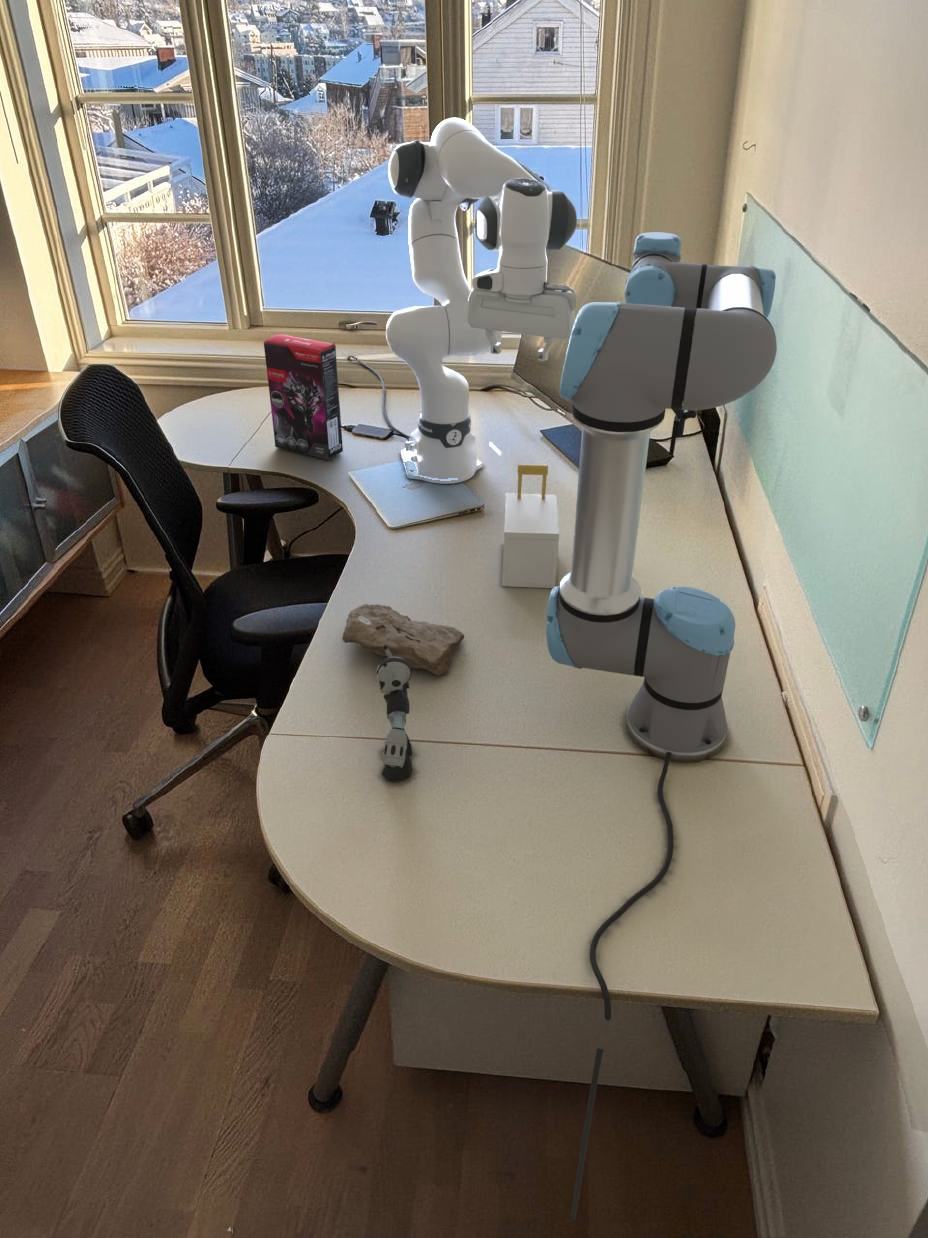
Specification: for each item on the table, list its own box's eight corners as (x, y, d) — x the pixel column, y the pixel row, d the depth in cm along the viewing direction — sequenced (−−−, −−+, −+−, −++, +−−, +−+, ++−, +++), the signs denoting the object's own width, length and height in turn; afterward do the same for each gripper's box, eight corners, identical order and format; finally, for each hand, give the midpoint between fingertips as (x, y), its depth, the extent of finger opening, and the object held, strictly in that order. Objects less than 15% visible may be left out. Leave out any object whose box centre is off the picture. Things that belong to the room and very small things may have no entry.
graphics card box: (273, 448, 231) (260, 339, 216) (289, 438, 236) (278, 332, 221) (329, 461, 225) (320, 351, 210) (345, 451, 230) (337, 342, 215)
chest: (503, 546, 191) (505, 500, 185) (552, 548, 191) (556, 502, 185) (502, 586, 178) (504, 538, 172) (555, 588, 178) (558, 540, 172)
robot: (414, 810, 128) (411, 698, 117) (379, 811, 128) (372, 699, 117) (414, 719, 145) (410, 613, 133) (382, 720, 144) (377, 613, 133)
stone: (319, 650, 154) (325, 617, 152) (352, 620, 168) (359, 590, 165) (435, 691, 151) (444, 659, 148) (460, 657, 164) (468, 628, 162)
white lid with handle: (505, 498, 186) (506, 459, 181) (556, 500, 185) (558, 461, 181) (504, 538, 172) (505, 496, 167) (558, 539, 172) (561, 498, 167)
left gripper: (582, 282, 164) (577, 359, 172) (477, 270, 171) (476, 344, 179) (571, 290, 159) (566, 368, 167) (463, 277, 166) (463, 353, 174)
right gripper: (723, 331, 157) (704, 447, 169) (578, 318, 162) (570, 432, 174) (722, 344, 151) (702, 464, 163) (571, 330, 156) (562, 447, 168)
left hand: (519, 356), depth 173 cm, fingers open, 8 cm apart
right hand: (633, 448), depth 168 cm, fingers open, 13 cm apart
